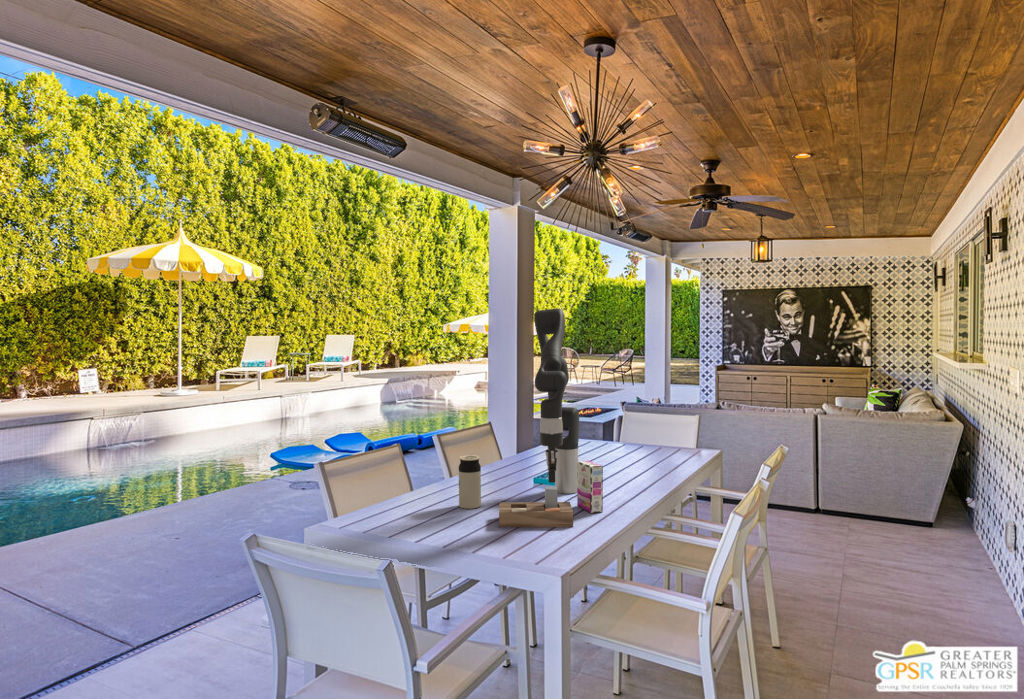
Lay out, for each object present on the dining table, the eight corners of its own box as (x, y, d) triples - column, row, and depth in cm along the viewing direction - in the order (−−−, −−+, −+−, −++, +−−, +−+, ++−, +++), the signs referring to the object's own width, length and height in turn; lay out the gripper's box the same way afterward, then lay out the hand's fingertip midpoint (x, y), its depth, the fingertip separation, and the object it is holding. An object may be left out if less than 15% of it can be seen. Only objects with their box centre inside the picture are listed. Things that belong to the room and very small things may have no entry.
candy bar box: (603, 512, 230) (603, 465, 229) (591, 513, 228) (590, 466, 228) (589, 504, 240) (588, 459, 240) (576, 505, 238) (576, 460, 238)
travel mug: (483, 504, 242) (483, 455, 241) (476, 510, 234) (476, 459, 234) (463, 502, 244) (462, 454, 243) (455, 508, 236) (455, 458, 236)
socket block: (499, 517, 225) (499, 501, 225) (569, 516, 225) (569, 500, 225) (499, 527, 213) (499, 511, 213) (573, 526, 213) (573, 510, 213)
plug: (545, 516, 222) (544, 486, 222) (556, 515, 222) (556, 486, 222) (545, 519, 218) (545, 489, 218) (557, 519, 218) (557, 489, 218)
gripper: (539, 427, 226) (539, 477, 226) (541, 434, 212) (541, 487, 213) (561, 427, 226) (561, 477, 226) (564, 433, 212) (564, 487, 213)
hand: (551, 482), depth 220 cm, fingers closed
